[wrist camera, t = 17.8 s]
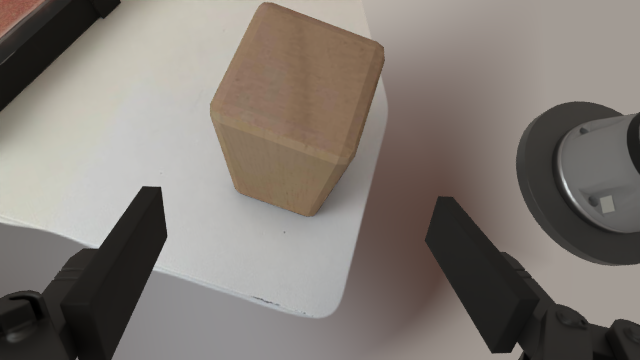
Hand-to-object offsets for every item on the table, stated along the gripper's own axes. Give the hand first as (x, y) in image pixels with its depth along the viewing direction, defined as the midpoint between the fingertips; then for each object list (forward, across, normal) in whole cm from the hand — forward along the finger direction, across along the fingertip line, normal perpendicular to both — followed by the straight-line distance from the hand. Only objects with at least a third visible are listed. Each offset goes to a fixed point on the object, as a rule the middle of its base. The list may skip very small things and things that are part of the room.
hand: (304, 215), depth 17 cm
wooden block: (+24, 0, -9) cm, 26 cm away
